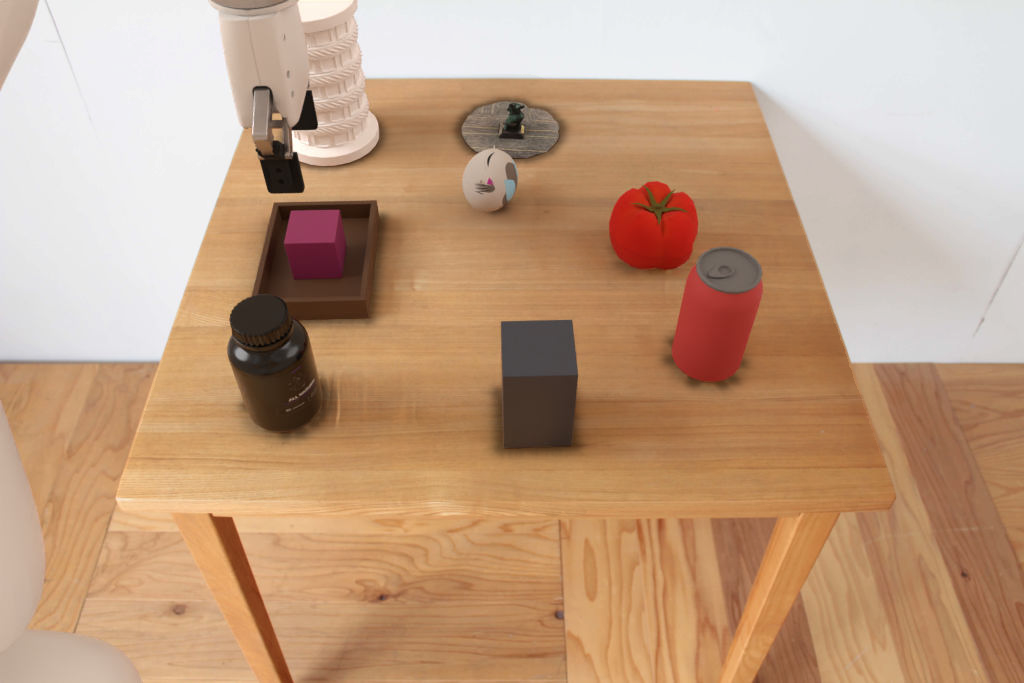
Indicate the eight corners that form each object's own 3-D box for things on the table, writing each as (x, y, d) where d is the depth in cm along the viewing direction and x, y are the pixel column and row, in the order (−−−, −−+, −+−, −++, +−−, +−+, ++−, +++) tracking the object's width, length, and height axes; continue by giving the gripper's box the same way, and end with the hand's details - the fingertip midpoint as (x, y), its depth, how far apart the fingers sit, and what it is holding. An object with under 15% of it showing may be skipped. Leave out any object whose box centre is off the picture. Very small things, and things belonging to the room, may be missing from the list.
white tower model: (295, 109, 109) (264, -30, 95) (385, 111, 109) (367, -28, 95) (275, 165, 101) (238, 22, 88) (372, 167, 101) (350, 24, 87)
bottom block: (571, 446, 75) (578, 374, 67) (503, 448, 75) (502, 376, 67) (566, 392, 79) (572, 319, 71) (501, 394, 79) (500, 320, 71)
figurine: (508, 233, 93) (508, 184, 88) (455, 225, 94) (452, 176, 89) (524, 188, 98) (525, 139, 93) (474, 181, 99) (472, 132, 94)
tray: (368, 318, 85) (365, 300, 83) (255, 320, 85) (249, 302, 83) (379, 218, 95) (376, 200, 93) (278, 220, 95) (273, 202, 93)
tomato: (592, 243, 92) (597, 188, 87) (659, 217, 95) (668, 162, 89) (642, 297, 87) (651, 242, 81) (711, 267, 90) (725, 212, 84)
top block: (342, 278, 88) (334, 242, 84) (293, 279, 88) (283, 243, 84) (346, 245, 91) (339, 209, 87) (299, 246, 91) (290, 210, 87)
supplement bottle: (318, 436, 76) (291, 347, 66) (241, 434, 76) (204, 346, 67) (330, 375, 80) (307, 285, 71) (258, 374, 80) (226, 283, 71)
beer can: (657, 345, 83) (675, 253, 74) (716, 325, 84) (740, 233, 75) (693, 394, 79) (717, 304, 70) (753, 372, 80) (784, 282, 71)
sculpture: (576, 144, 104) (542, 115, 98) (525, 197, 107) (488, 172, 101) (530, 90, 111) (495, 60, 105) (483, 142, 114) (445, 115, 107)
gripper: (226, -70, 72) (268, 107, 85) (178, 31, 60) (236, 219, 73) (315, -71, 72) (344, 106, 85) (285, 29, 60) (324, 217, 73)
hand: (294, 158), depth 79 cm, fingers open, 9 cm apart
